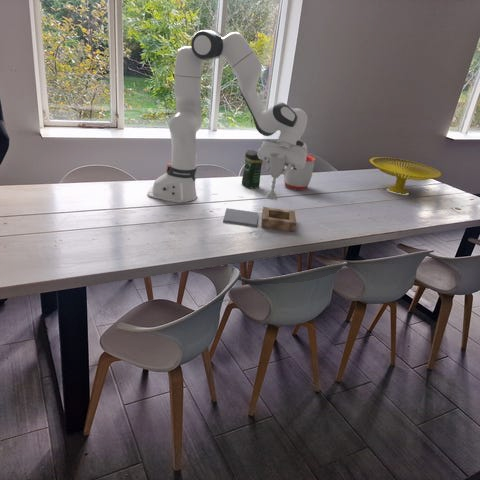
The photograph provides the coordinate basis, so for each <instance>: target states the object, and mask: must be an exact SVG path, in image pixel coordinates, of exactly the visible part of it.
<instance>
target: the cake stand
mask: <svg viewBox="0 0 480 480" xmlns="http://www.w3.org/2000/svg"><path fill="white" fill-rule="evenodd" d="M369 163H370V164H372V166H374V167H375V168H377V169H378V170H379V171H381V172H382V173H384V174H387V175H389V176H391V177H392V176H393V177H395V178H396V180H395V184H394V185H392V186H388V189H389V190H390V191H393V192H396V193H401V194H406V193H409V192H410V191H408V190H407V189H406V188H404V187H405V184H406V182H407V180H410V181H419V182H420V181H427V180H433V179H436V178H437V179H438V178H441V177H442V172H441V171H440V170H438V169H436V168H434V167H432V166H429V165H426V164H422V163H419V162H416V161H411V160H408V159H402V158H396V157H393V158H392V157H387V156H386V157H384V156H383V157H379V156H378V157H372V158H370V159H369Z"/></svg>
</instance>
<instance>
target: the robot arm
mask: <svg viewBox="0 0 480 480" xmlns="http://www.w3.org/2000/svg"><path fill="white" fill-rule="evenodd" d="M190 41H191V42H190V46H187V45H186V46H182V47H181V48H179V49H178V51H177V54H176V57H175V63H174V64H175V65H174V83H173V86H174V87H173V90H174V91H173V96H174V99H175V104H176V113H175V114H174V115H172V117H171V118H170V120H169V121H170V122H169V124H168V129H169V132H170V141H171V163H170V162H169V163H168V164H167V166H166V167H165V169H166V171H165V172H166V173H164V174H162V175H160V176H159V177H157V178H156V179H155V180H154V182H153V185H152V187H150V188H149V189H148V191H147V196H148V197H149V198H154V199H158V200H162V201H168V202H172V203H178V204H179V203H183V202H191V201H194V200H196V199H197V197H198V195H197V190H196V180H197V173H198V172H197V170H198V169H197V155H198V149H197V140H196V138H197V136H196V135H197V132H198V131H199V130H200V129H201V126H202V124H203V123H202V122H203V117H202V100H201V99H202V98H201V97H202V96H201V91H202V72H203V71H202V69H203V64H204V63H205V62H208V61H214V60H216V59H219V58H223V59H224V60H225V61H226V62H227V63H228V65H229V67H230V68H231V70H232V71H233V74H234V75H235V78H236V81H237V83H238V90H239V92H240V94H241V96H242V99H243V101H244V103H245V105H246V106H247V108H248V111H249V112H250V114H251V117H252V118H253V122H254V125H255V128H256V130H257V132H258V133H259V134H260V135H262V136H264V137H269V136H270V137H271V136H272V135H274V134H275V133H277V131H279V132H280V134H279V135H278V138H277V140H271V139H265V140H263V141H262V143H261V145H260V148H259V149H258V150H257V152H258V153H257V155H258V158H259V159H261V160H263V161H264V162H265V164H266V165H265V168H264V169H265V171H269V172H270V167H269V165H270V159H271V156H270V154H271V153H279V155H277V156H276V157H278V158H285V157H284V155H286V156H288V157H287V159H286V162H285V166H288V167H287V168H286V169H285V168H284V169H283V171H282V173H281V174H282V175H283V176H284V175H286V174H287V172H288V171H290V170H291V169H292V167H293V168H297V169H303V168H304V166H305V163H306V155H308V146H307V144H306V143H305V142H304V141H302V140H301V137H303V135H304V133H305V130H306V127H307V124H308V115H307V113H306V112H305V111H304V110H303V109H301V108H298V107H297V108H296V107H295V108H293V107H291V106H289V105H288V104H287V103H284V102H277V103H275V104H273V105H272V106H270V107H269V108H268V109H266V107H264V105H263V103H262V101H261V99H260V96H259V95H258V91H257V85H258V81H259V78H260V77H261V73H262V64H261V61H260V58H259V57H258V55H257V54H256V52H255V50H254V48H253V47H252V46H251V44H250V43H249V42H248V41H247V40H246V38H245V37H244V36H243V35H242V33H240V32H239V31H238V32H237V31H234V32H229V33H227V35H225V36H223V34H221V33H220V32H219V31H216V30H213V29H201V30H198V31H197V32H195V33H194V35H193V36H192V38H191V40H190Z"/></svg>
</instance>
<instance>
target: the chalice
mask: <svg viewBox="0 0 480 480" xmlns="http://www.w3.org/2000/svg"><path fill="white" fill-rule="evenodd" d="M277 155H279V153H271V154H270V156H271V159H270V163H269V164H268V165H269V167H270V169H269V172H270V175H271V177H272V178H273V179H272V181H271V183H272V185H271V186H270V187H271V190H270V191H268V192H267V194H266V195H265V196H264V197H265V199H268V200H271V201H272V200H273V201H275V200H277V199H278V196H277V193H276V192H275V188H276V186H275V185H276V180H277V178H279V177H280V176H281V174H282V171H283V169H285V162H286V159H287V157H288V156H286V155H284V157H285V158H278V157H276V156H277Z"/></svg>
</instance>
